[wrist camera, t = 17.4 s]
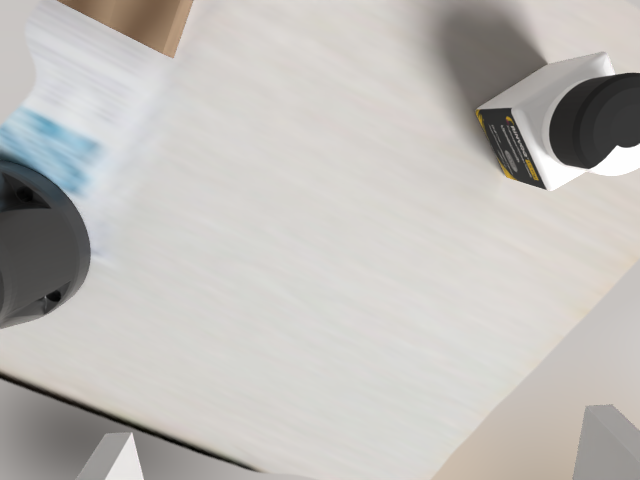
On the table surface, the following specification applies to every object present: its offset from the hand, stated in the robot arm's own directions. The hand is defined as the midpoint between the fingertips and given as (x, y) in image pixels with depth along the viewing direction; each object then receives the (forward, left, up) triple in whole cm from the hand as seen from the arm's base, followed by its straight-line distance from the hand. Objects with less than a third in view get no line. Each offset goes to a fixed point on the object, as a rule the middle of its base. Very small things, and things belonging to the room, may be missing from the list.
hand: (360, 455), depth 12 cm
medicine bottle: (+18, +8, -27) cm, 33 cm away
